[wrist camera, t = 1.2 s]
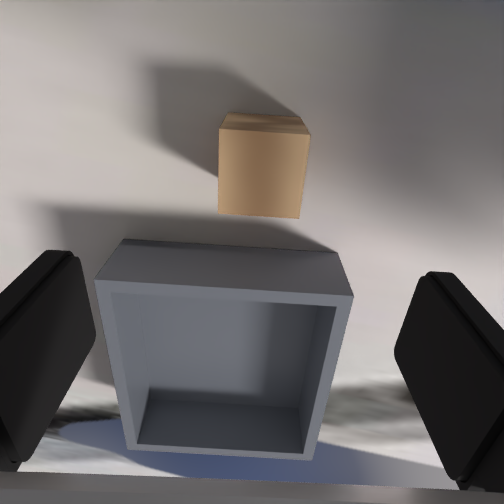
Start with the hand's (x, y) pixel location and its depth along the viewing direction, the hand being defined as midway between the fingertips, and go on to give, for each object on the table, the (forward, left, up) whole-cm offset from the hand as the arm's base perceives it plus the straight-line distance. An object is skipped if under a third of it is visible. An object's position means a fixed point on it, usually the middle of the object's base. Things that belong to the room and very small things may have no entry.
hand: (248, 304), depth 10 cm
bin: (+2, +18, -18) cm, 25 cm away
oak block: (0, 0, -18) cm, 18 cm away
